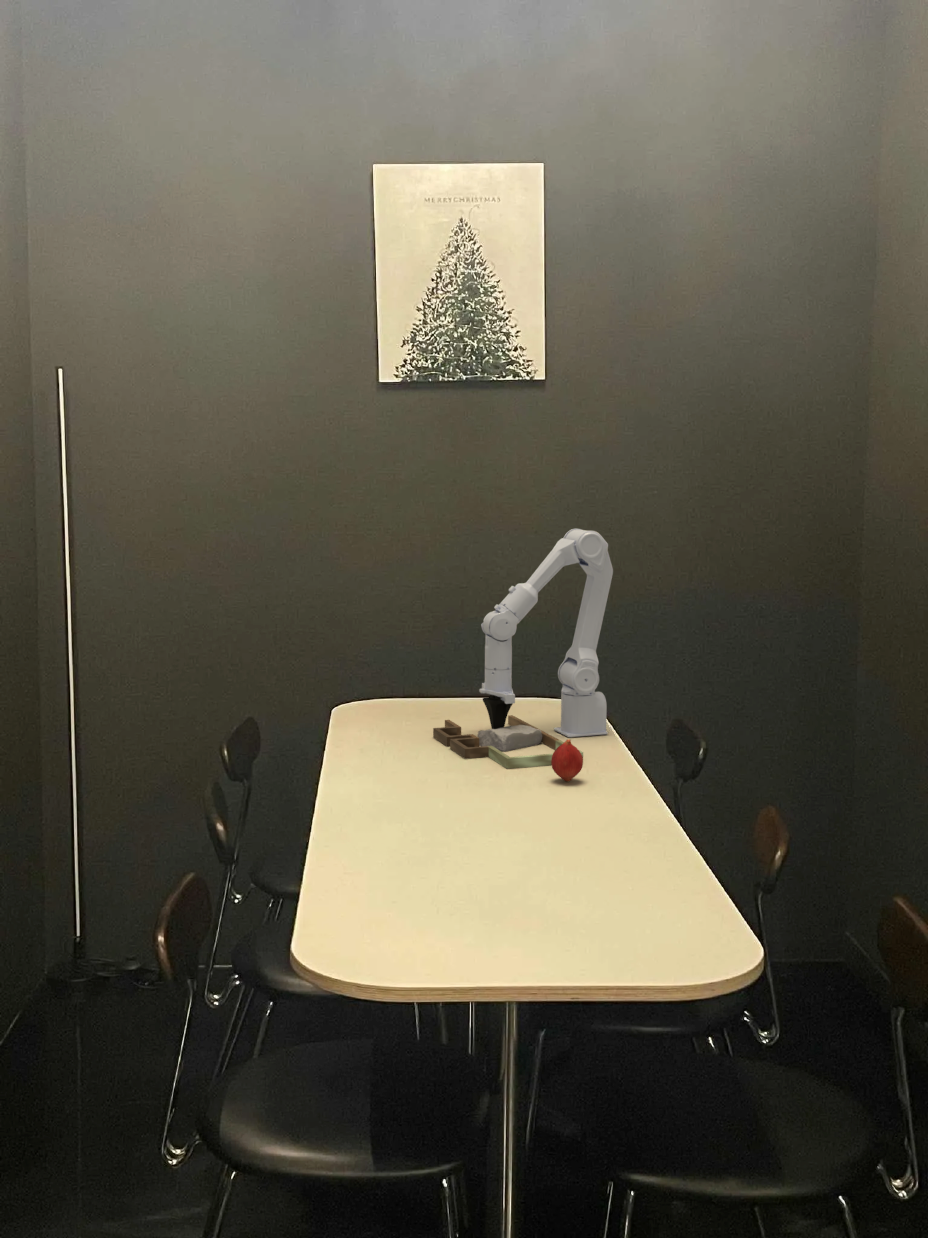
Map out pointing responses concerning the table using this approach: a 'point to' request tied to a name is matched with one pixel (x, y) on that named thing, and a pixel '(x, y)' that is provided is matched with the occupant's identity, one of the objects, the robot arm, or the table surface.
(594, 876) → the table surface
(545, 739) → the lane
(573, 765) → the onion
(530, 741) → the stone block
